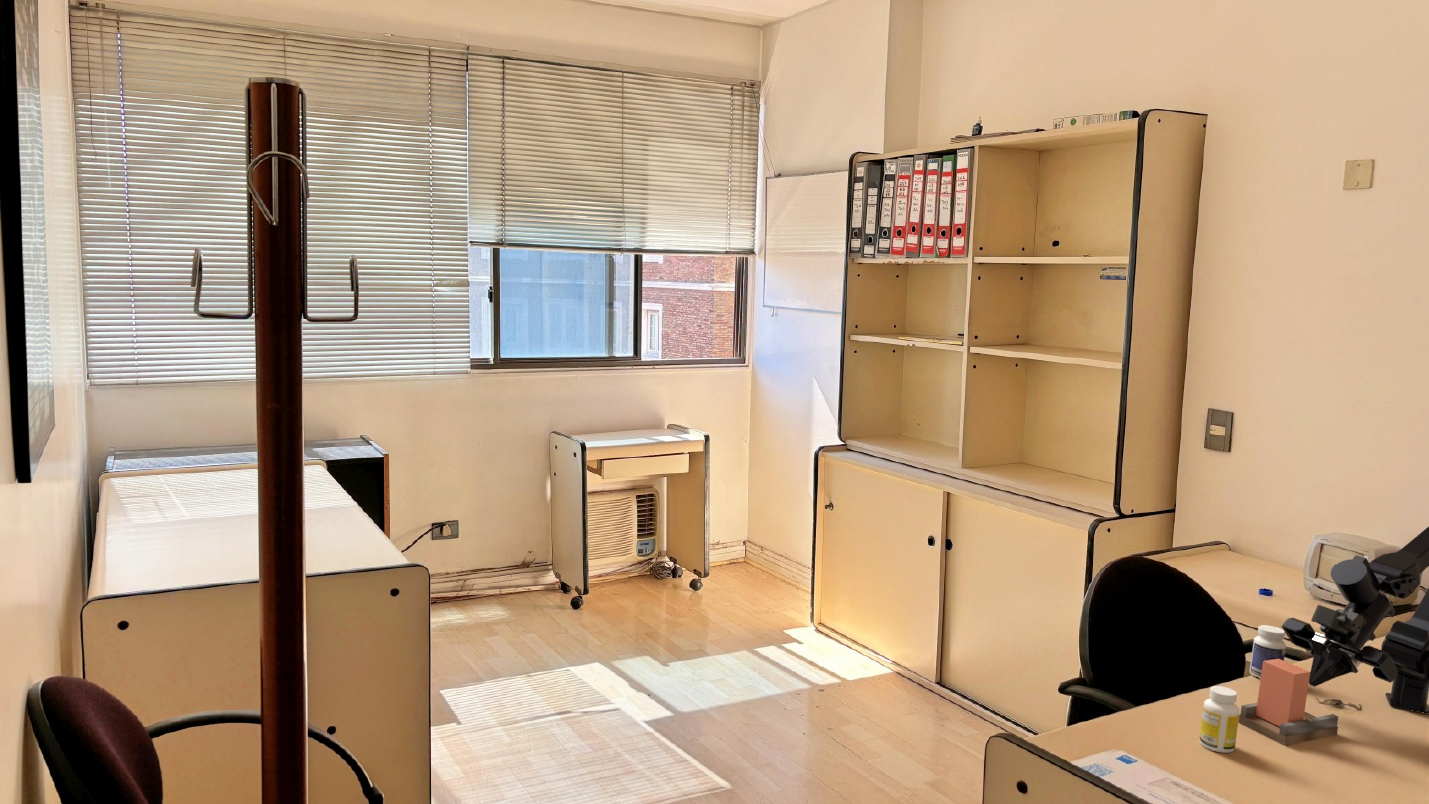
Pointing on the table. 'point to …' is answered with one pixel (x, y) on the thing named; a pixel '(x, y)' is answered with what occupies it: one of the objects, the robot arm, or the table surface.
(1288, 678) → the pink upright rectangular block
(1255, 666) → the pill bottle
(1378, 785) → the table surface
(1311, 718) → the rail housing
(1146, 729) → the table surface
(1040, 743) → the table surface
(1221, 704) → the supplement bottle
